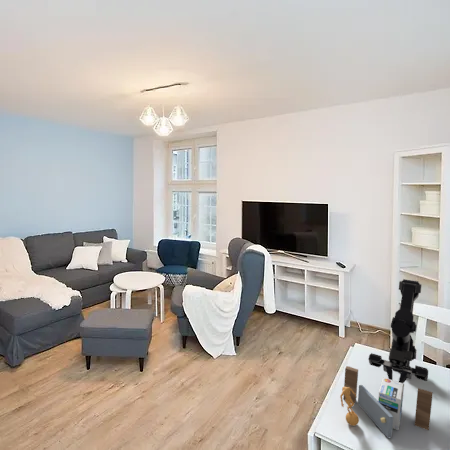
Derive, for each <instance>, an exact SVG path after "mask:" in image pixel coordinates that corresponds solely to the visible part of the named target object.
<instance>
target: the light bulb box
mask: <svg viewBox="0 0 450 450" xmlns="http://www.w3.org/2000/svg"><path fill="white" fill-rule="evenodd" d="M404 389H405V383H400V382H399V381H396V380H394V379H393V380H390V379H389V378H388V377H382V381H381V384H380V388H379V390H378V400H377V401H378V402H379V403H380V404H381V405H382V406H383V407H384V408H385V409H386V410H387V411H388V412H389V413H390V414H391V415H392V416H393V426H392V430H397V431H399V430H400V425H401V419H402V413H403V399H404Z"/></svg>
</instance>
